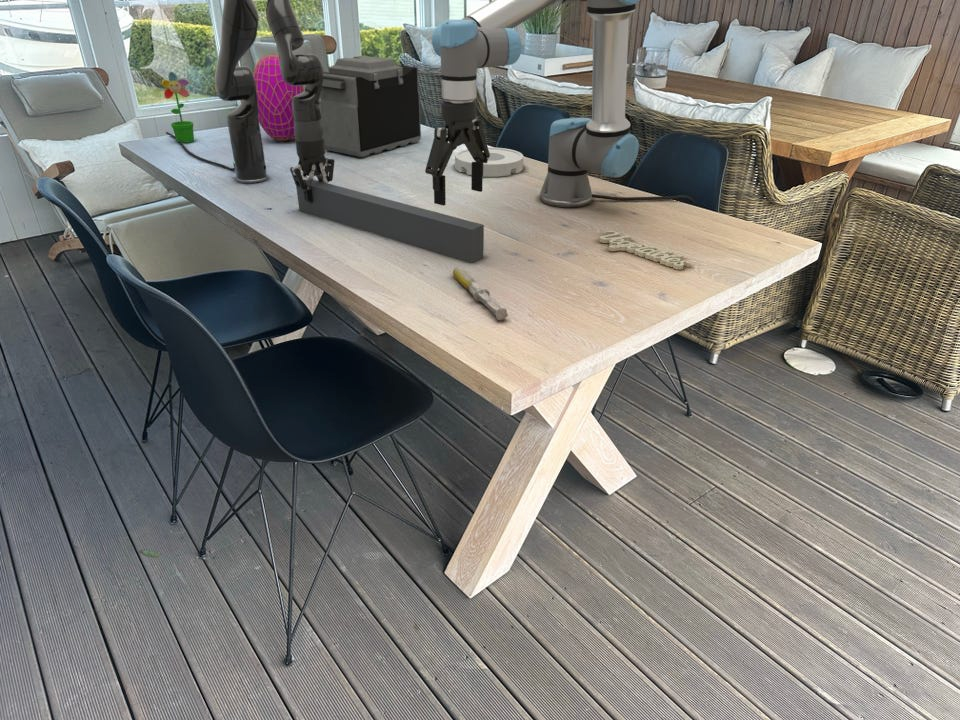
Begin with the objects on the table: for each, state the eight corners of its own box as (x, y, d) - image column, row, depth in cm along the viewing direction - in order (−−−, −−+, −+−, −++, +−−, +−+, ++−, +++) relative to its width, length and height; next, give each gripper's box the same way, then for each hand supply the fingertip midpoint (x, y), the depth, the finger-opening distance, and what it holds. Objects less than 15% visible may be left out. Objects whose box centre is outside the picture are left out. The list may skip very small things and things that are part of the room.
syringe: (449, 274, 155) (449, 263, 153) (465, 272, 156) (464, 260, 154) (490, 323, 135) (491, 310, 133) (508, 319, 136) (508, 307, 134)
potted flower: (174, 144, 256) (159, 72, 244) (172, 140, 262) (157, 69, 250) (201, 142, 260) (187, 71, 247) (197, 137, 266) (184, 68, 253)
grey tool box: (383, 133, 276) (378, 52, 261) (425, 141, 265) (422, 56, 250) (314, 150, 251) (304, 61, 235) (358, 160, 240) (350, 67, 224)
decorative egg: (293, 132, 276) (283, 50, 261) (319, 140, 264) (310, 56, 249) (249, 139, 265) (236, 54, 250) (273, 148, 253) (261, 60, 238)
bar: (483, 257, 164) (483, 224, 160) (471, 263, 161) (472, 229, 157) (311, 206, 196) (308, 178, 192) (299, 210, 193) (295, 181, 188)
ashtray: (457, 158, 244) (457, 146, 242) (522, 159, 243) (522, 147, 241) (452, 176, 224) (452, 163, 222) (523, 177, 223) (524, 165, 221)
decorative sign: (585, 238, 173) (610, 229, 179) (584, 241, 173) (610, 233, 179) (673, 269, 156) (698, 259, 162) (672, 273, 156) (697, 262, 162)
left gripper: (320, 130, 188) (327, 191, 197) (278, 139, 178) (287, 203, 187) (339, 134, 184) (345, 196, 193) (297, 143, 174) (305, 209, 183)
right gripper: (479, 90, 158) (478, 182, 169) (406, 105, 141) (410, 206, 151) (506, 94, 154) (503, 188, 165) (434, 110, 137) (436, 213, 147)
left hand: (316, 199), depth 190 cm, fingers closed on bar, 4 cm apart
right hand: (458, 197), depth 158 cm, fingers open, 13 cm apart
